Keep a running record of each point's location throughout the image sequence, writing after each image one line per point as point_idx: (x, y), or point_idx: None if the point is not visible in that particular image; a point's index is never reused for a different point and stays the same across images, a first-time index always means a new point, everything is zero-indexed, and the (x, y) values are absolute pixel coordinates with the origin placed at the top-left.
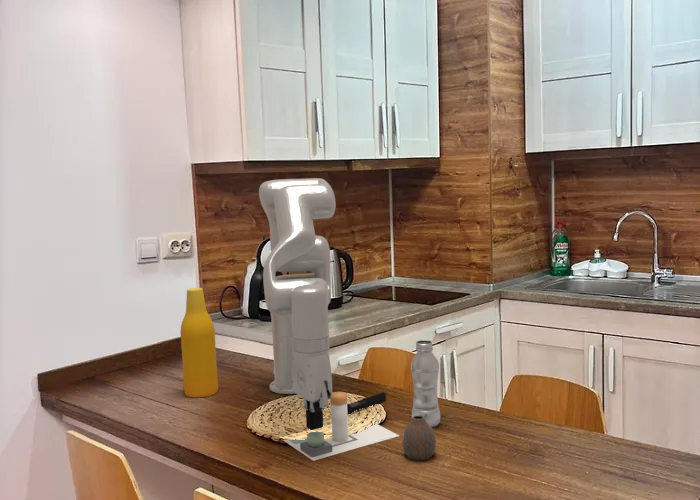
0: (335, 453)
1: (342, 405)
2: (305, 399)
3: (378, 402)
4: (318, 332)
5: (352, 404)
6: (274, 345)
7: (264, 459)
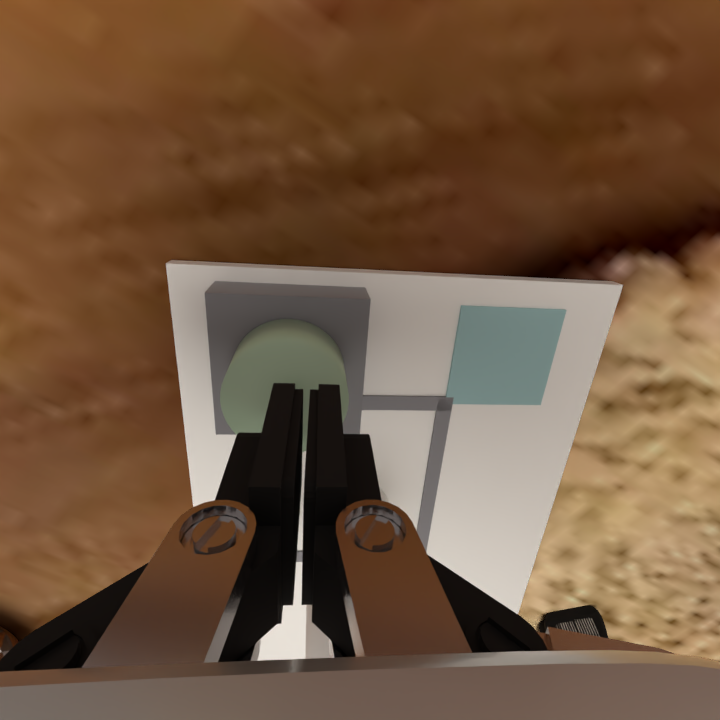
0: (192, 412)
1: None
2: (387, 635)
3: None
4: None
5: None
6: None
7: (436, 21)
